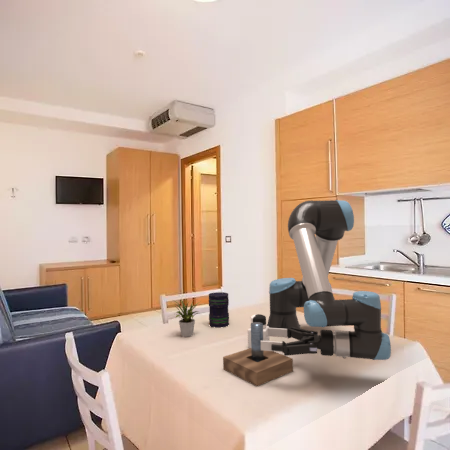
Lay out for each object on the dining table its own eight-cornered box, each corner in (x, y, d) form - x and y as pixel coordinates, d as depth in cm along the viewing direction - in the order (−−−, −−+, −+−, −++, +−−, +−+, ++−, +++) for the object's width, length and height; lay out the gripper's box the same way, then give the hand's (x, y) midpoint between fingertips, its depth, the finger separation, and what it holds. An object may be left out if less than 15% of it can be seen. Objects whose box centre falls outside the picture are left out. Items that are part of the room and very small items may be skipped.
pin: (249, 369, 107) (248, 323, 108) (258, 366, 110) (256, 321, 110) (257, 373, 104) (256, 326, 105) (266, 370, 107) (265, 323, 107)
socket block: (223, 369, 108) (223, 356, 109) (258, 356, 118) (258, 345, 118) (256, 386, 96) (256, 372, 96) (293, 371, 106) (292, 358, 106)
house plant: (161, 338, 142) (160, 300, 142) (178, 329, 155) (177, 294, 155) (191, 341, 136) (190, 302, 137) (205, 331, 149) (204, 295, 150)
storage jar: (217, 321, 167) (216, 291, 167) (233, 323, 161) (232, 293, 161) (204, 325, 159) (204, 294, 159) (221, 329, 153) (220, 296, 153)
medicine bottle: (269, 343, 132) (268, 313, 132) (266, 349, 125) (265, 318, 125) (252, 342, 134) (251, 312, 134) (247, 348, 127) (247, 317, 128)
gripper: (335, 372, 88) (257, 365, 94) (332, 342, 112) (270, 337, 118) (334, 344, 88) (257, 338, 94) (332, 319, 112) (270, 316, 118)
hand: (264, 338), depth 106 cm, fingers open, 13 cm apart
